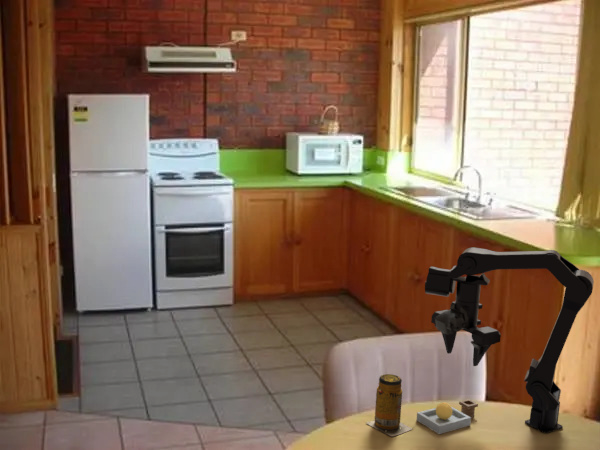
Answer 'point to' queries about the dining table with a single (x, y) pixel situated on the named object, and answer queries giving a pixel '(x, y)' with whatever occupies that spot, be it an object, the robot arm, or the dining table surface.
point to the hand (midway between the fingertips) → (461, 359)
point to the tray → (442, 425)
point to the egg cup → (468, 407)
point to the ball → (444, 411)
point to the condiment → (389, 406)
